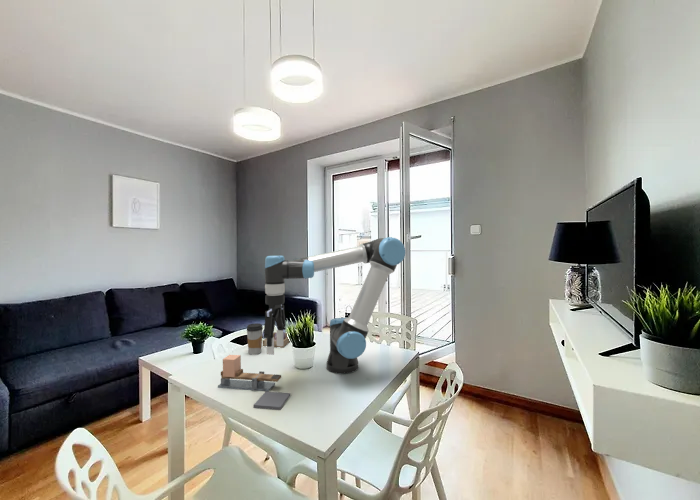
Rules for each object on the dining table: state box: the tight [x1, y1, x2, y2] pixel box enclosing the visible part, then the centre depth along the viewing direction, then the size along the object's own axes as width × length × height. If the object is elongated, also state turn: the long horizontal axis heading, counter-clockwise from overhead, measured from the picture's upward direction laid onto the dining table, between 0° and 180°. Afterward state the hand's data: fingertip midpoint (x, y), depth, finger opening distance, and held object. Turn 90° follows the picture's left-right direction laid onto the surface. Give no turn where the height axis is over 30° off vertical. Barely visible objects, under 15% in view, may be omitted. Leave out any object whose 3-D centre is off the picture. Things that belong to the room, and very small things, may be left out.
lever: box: [220, 368, 282, 383], centre depth 120 cm, size 24×5×3 cm, turn 81°
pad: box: [253, 391, 292, 411], centre depth 108 cm, size 10×10×1 cm
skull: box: [274, 331, 286, 341], centre depth 174 cm, size 12×8×6 cm, turn 164°
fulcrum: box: [217, 371, 276, 392], centre depth 120 cm, size 22×7×5 cm, turn 81°
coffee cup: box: [246, 322, 264, 356], centre depth 158 cm, size 8×8×15 cm
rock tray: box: [262, 331, 290, 349], centre depth 175 cm, size 12×16×4 cm
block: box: [222, 354, 242, 377], centre depth 121 cm, size 5×5×7 cm
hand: (275, 349), depth 118 cm, fingers open, 9 cm apart
